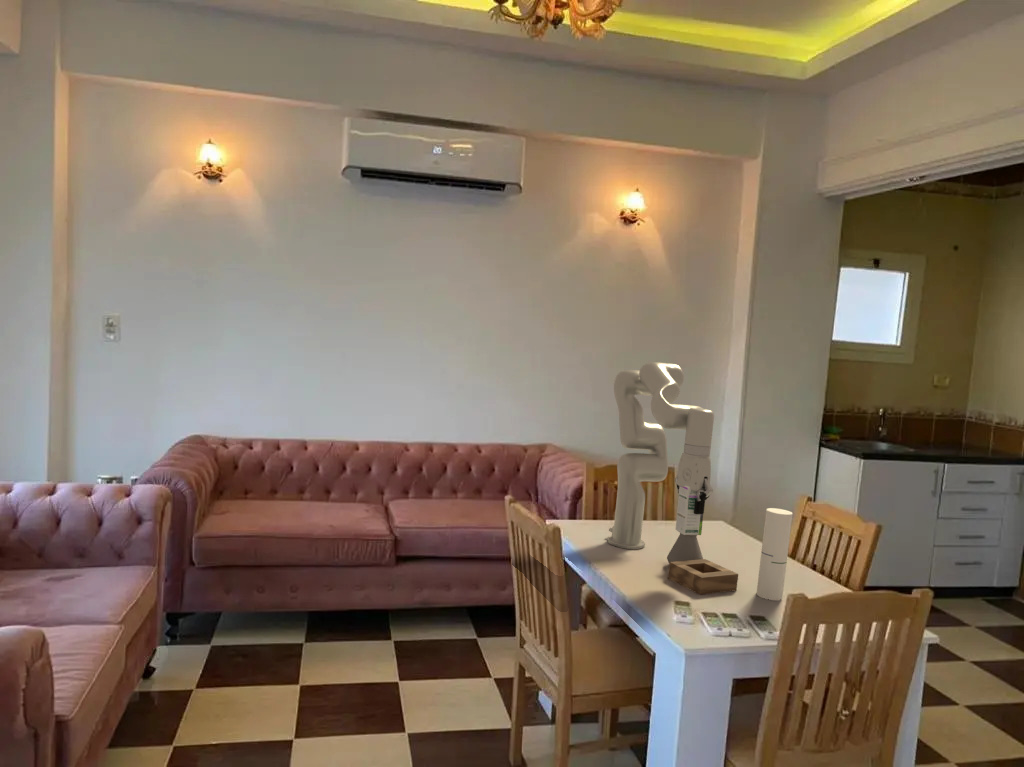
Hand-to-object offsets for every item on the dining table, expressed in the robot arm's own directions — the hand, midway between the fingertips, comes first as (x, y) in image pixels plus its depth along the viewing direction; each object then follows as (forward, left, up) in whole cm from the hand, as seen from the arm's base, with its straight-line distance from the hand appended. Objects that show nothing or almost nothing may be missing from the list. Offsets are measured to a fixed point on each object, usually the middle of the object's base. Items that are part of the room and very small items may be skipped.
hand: (690, 510), depth 223 cm
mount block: (+3, +5, -22) cm, 22 cm away
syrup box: (0, 0, -7) cm, 7 cm away
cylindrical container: (+16, +19, -22) cm, 33 cm away
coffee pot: (-14, +13, -22) cm, 29 cm away
